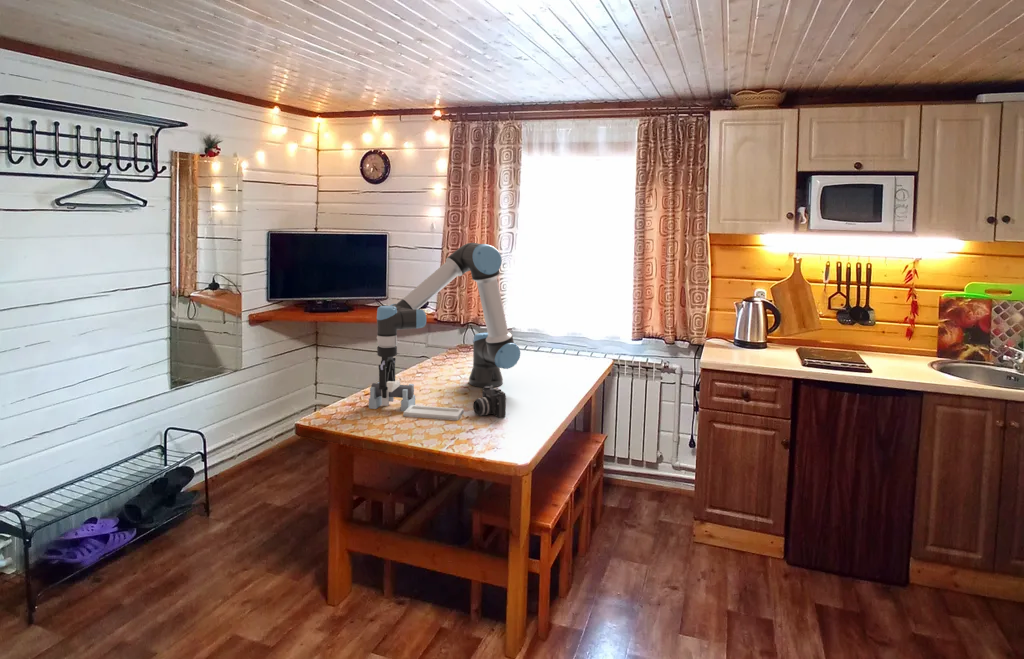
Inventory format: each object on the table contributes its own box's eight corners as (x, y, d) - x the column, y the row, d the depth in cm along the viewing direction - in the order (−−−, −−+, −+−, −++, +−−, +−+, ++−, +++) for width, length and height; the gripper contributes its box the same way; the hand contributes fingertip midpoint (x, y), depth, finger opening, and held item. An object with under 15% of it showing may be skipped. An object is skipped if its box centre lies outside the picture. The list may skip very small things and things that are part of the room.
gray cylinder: (413, 396, 275) (413, 384, 274) (410, 399, 270) (410, 387, 269) (375, 393, 278) (375, 381, 277) (370, 397, 273) (370, 384, 272)
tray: (463, 412, 269) (463, 408, 269) (457, 420, 260) (457, 416, 260) (411, 408, 272) (411, 405, 272) (403, 416, 263) (403, 412, 263)
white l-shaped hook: (401, 385, 271) (401, 376, 270) (392, 392, 261) (392, 383, 260) (395, 384, 271) (395, 376, 270) (386, 391, 261) (386, 382, 260)
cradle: (415, 404, 278) (415, 384, 277) (408, 411, 269) (408, 390, 267) (377, 401, 280) (376, 381, 279) (368, 408, 271) (368, 387, 270)
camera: (466, 410, 272) (466, 386, 270) (490, 407, 278) (490, 383, 276) (484, 421, 260) (484, 395, 258) (508, 416, 266) (509, 391, 264)
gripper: (385, 340, 280) (386, 396, 284) (369, 349, 262) (370, 409, 267) (403, 341, 279) (403, 397, 283) (388, 351, 261) (389, 410, 265)
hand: (387, 403), depth 275 cm, fingers closed on gray cylinder, 5 cm apart
